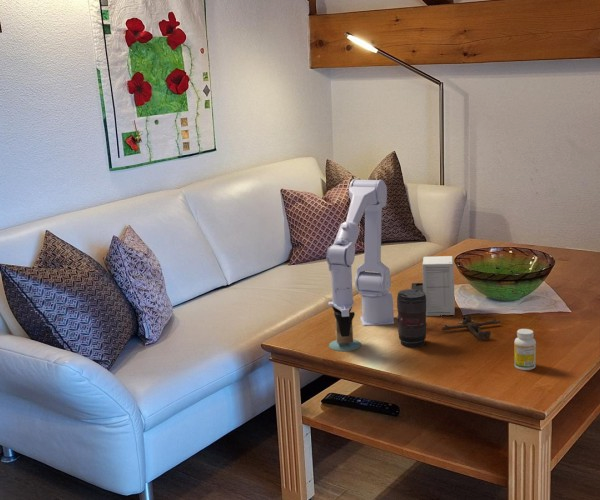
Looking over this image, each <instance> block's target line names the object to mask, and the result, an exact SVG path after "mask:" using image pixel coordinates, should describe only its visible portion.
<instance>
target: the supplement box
mask: <svg viewBox="0 0 600 500" xmlns="http://www.w3.org/2000/svg"><path fill="white" fill-rule="evenodd" d="M421 268H422V283H423V291H424V292H425V294H426V317H443V316H442V315H454V316H455V307H456V306H455V278H454V277H455V275H454V261H453V255H443V256H439V255H438V256H423V259H422V267H421ZM440 315H441V316H440Z"/></svg>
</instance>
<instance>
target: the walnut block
mask: <svg viewBox="0 0 600 500" xmlns="http://www.w3.org/2000/svg"><path fill="white" fill-rule="evenodd" d="M334 320H335V325H334V326H335V327H334V328H335V332H336V334H335V340H337V344H339V343H352V342H353V339H354V334H353V333H354V332H353V321H352V322H351V327H350V334H349V336H344V337H342V336H341V333H340V328H339V324H338V321H337V319H336V317H335V316H334Z"/></svg>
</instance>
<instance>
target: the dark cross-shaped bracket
mask: <svg viewBox="0 0 600 500" xmlns="http://www.w3.org/2000/svg"><path fill="white" fill-rule="evenodd" d="M500 323H501V321H500V320H497V319H496V318H494V319H492V320H490V321H483V322H479V321H478V322H475V321H474V320H473V319H472V316H471V315H469V314H467V315H466V316H464V317H463V318H462V320H460V321H458V324H459V325H447V324H445V325H444V326H443V327H441V331H449V330H450V331H451V330H456V329H457V330H458V329H467V330H468V331H469V332H470V333H472V334H473V335H474V337H476V338H477V339H478V340H479V341H484V340H485V341H488V339H489V340H490V338H491V330H485V331H483V330H482V329H481V328H480V327H482V326H489V325H497V324H500Z"/></svg>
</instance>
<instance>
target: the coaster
mask: <svg viewBox="0 0 600 500" xmlns="http://www.w3.org/2000/svg"><path fill="white" fill-rule="evenodd" d="M361 345H362V343H361V342H360V341H359V340H357V339H354V338H353V342H352V343H339V344H337V340H336V339H335V340H332V341H331V342H330V343H328V347H329V349H331V350H333V351H337V352H350V351H355V350H357V349H359V348H360V347H361Z"/></svg>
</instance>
